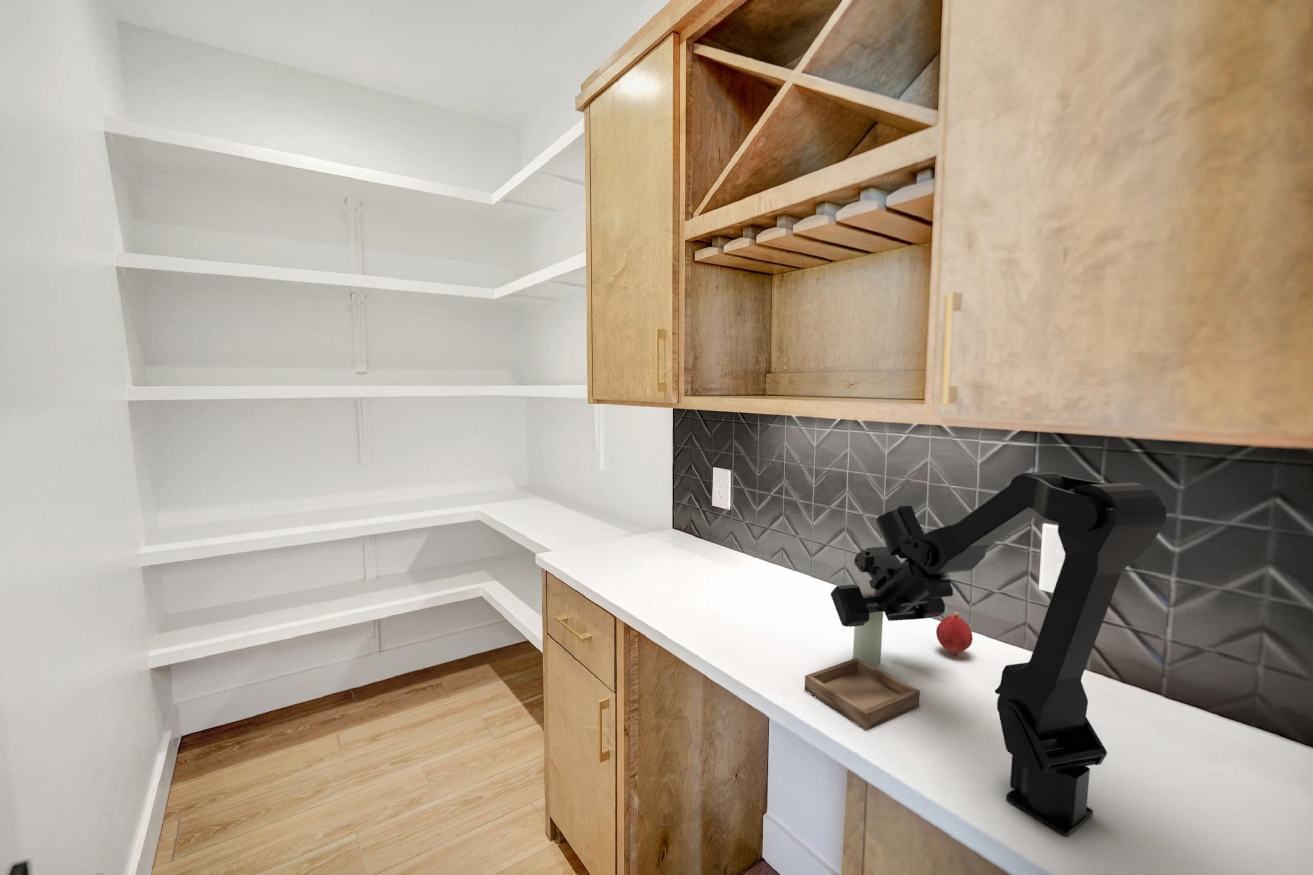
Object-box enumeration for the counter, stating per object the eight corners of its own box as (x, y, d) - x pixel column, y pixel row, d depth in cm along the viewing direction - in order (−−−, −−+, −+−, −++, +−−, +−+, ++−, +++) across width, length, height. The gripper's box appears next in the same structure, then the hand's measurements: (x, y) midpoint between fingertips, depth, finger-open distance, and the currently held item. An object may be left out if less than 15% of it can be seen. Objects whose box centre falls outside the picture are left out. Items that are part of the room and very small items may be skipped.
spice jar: (887, 664, 99) (891, 595, 98) (868, 671, 96) (872, 600, 95) (864, 652, 103) (867, 586, 102) (845, 658, 101) (849, 591, 99)
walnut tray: (919, 706, 86) (920, 691, 86) (866, 730, 80) (866, 713, 80) (855, 671, 96) (856, 657, 96) (804, 690, 90) (805, 675, 90)
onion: (928, 649, 104) (930, 608, 104) (951, 644, 106) (953, 604, 106) (954, 664, 99) (957, 620, 98) (978, 658, 101) (981, 616, 100)
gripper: (937, 533, 95) (891, 574, 107) (839, 540, 91) (803, 582, 103) (970, 595, 89) (918, 632, 100) (866, 606, 84) (824, 643, 96)
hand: (865, 620), depth 100 cm, fingers open, 9 cm apart
